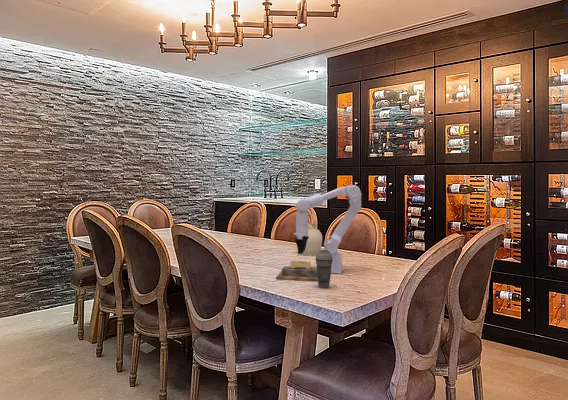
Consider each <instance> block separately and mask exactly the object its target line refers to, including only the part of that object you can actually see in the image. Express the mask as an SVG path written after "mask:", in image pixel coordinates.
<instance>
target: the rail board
mask: <svg viewBox="0 0 568 400" xmlns="http://www.w3.org/2000/svg"><path fill="white" fill-rule="evenodd" d="M275 280H280V281H299V282H300V281H301V282H302V281H303V282H318V278H317V267H314V266H313V267H312V266H311V270H306V267H296V269H290V266H285V265H284V266H283V267H282V268H281V270H280V272H279V273H278V274H277V276H276V277H275Z"/></svg>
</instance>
